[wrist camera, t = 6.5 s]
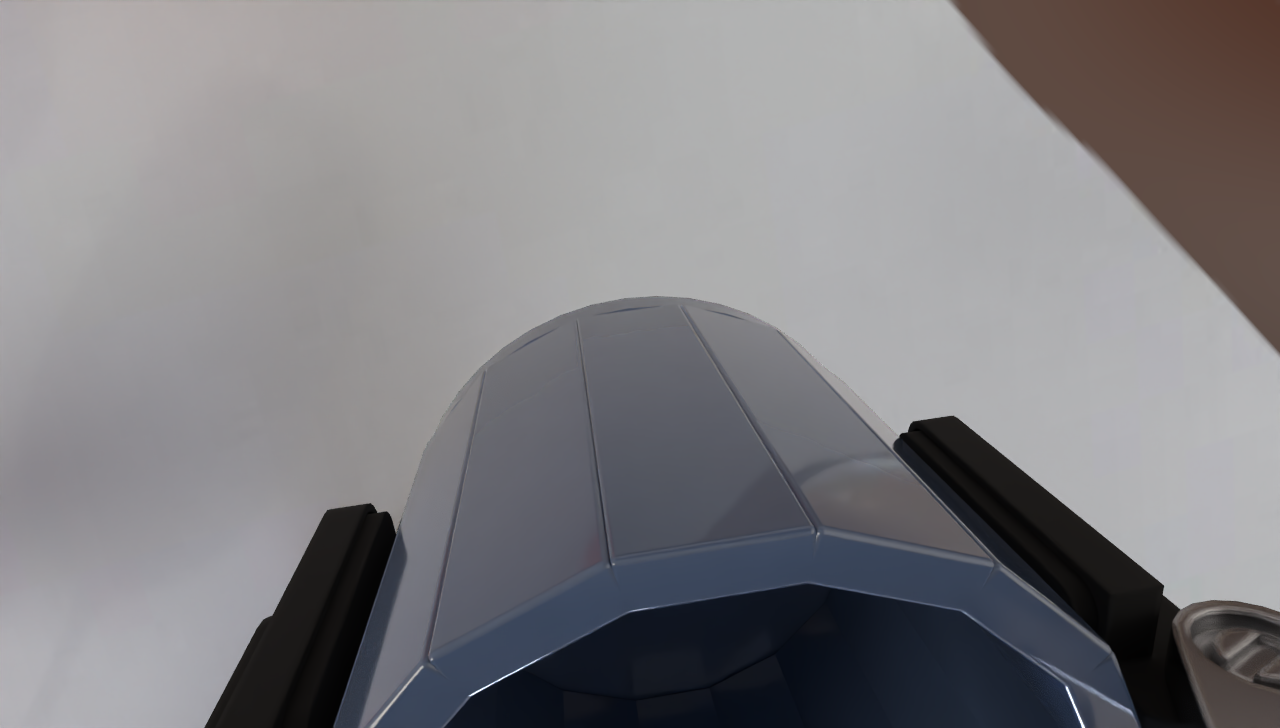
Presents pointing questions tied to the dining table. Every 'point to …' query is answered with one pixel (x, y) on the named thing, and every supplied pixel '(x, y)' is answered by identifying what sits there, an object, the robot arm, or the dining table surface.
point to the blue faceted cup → (702, 554)
